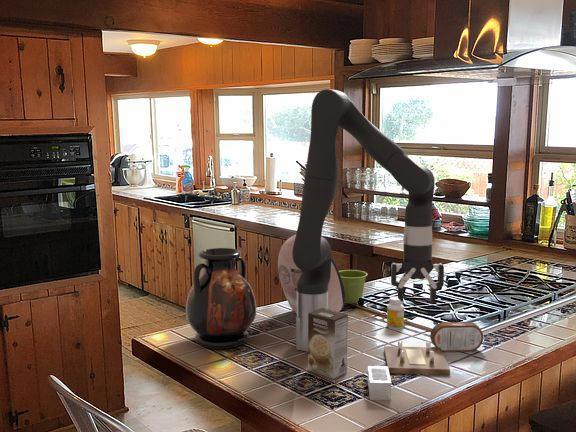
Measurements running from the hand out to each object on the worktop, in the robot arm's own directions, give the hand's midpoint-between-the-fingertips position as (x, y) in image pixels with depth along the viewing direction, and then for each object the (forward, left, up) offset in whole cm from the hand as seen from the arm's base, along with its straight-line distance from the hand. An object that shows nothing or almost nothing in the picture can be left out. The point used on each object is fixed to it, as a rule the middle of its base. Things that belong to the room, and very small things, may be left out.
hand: (416, 301), depth 160 cm
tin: (+13, +10, -18) cm, 24 cm away
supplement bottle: (-3, +30, -18) cm, 35 cm away
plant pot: (-17, +57, -18) cm, 62 cm away
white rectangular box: (-11, -19, -18) cm, 28 cm away
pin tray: (0, 0, -17) cm, 17 cm away
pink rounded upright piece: (-31, +38, -18) cm, 52 cm away
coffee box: (-24, -8, -18) cm, 31 cm away
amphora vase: (-57, +13, -18) cm, 61 cm away
